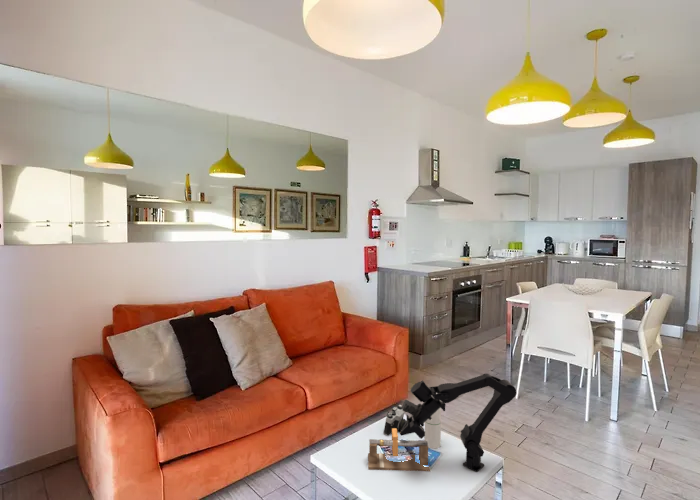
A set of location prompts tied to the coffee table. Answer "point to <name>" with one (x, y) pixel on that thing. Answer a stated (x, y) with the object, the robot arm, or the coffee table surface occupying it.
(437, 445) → the cylindrical container
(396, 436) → the collar
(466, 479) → the coffee table surface
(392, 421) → the camera
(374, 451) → the stand
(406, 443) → the pipe
